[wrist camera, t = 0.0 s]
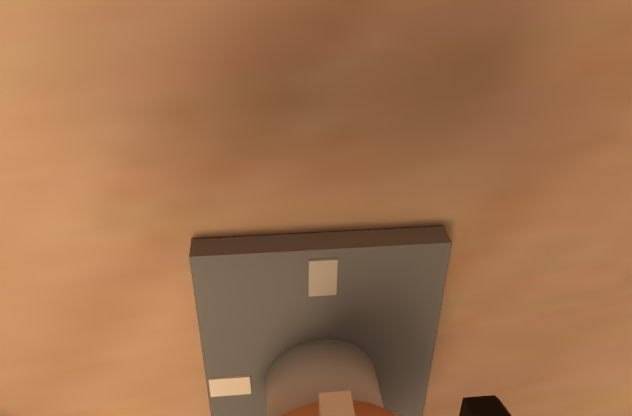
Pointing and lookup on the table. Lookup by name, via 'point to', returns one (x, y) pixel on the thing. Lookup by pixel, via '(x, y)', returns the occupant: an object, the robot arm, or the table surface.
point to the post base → (319, 317)
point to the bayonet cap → (339, 407)
